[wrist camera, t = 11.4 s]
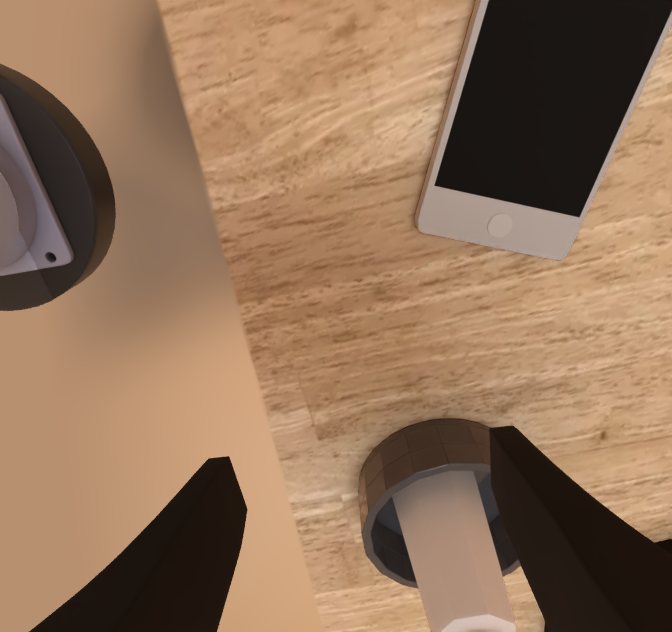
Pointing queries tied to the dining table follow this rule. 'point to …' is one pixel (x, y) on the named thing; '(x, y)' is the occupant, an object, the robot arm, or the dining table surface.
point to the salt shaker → (453, 554)
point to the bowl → (416, 463)
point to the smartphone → (537, 118)
